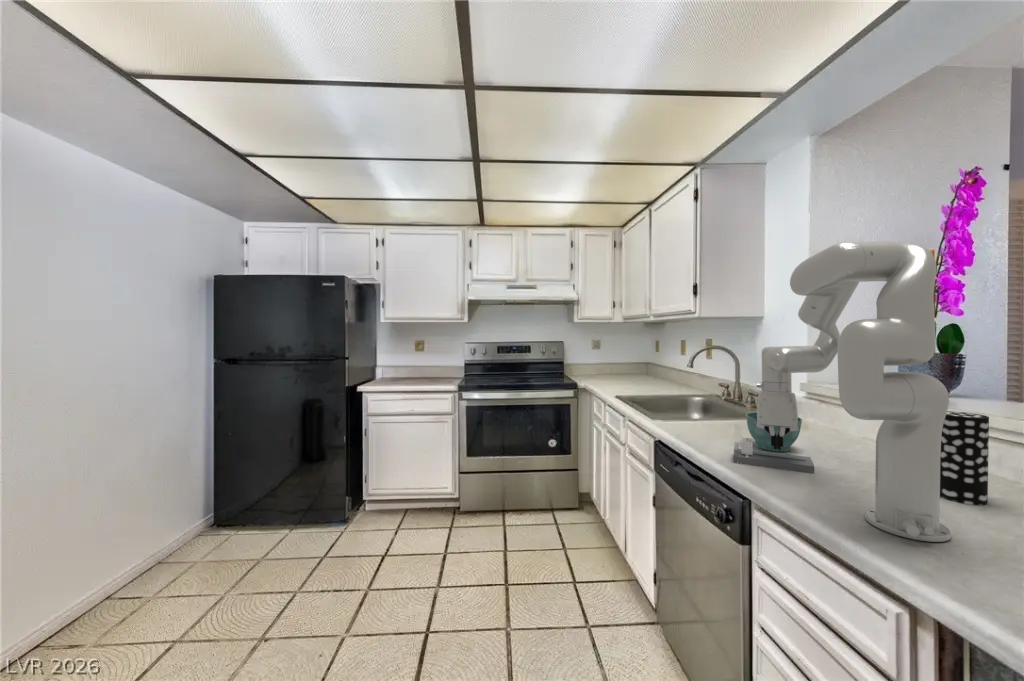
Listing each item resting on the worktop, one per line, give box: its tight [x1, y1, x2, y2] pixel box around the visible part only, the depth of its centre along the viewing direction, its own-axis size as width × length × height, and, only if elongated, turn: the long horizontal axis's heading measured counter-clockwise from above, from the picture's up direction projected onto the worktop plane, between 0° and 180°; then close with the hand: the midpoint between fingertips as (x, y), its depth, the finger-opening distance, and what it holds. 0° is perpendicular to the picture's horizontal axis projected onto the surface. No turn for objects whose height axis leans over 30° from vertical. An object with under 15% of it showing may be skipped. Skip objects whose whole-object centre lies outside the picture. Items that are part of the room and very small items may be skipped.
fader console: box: [733, 442, 815, 474], centre depth 126 cm, size 10×20×4 cm, turn 60°
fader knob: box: [740, 437, 754, 455], centre depth 129 cm, size 5×3×4 cm, turn 150°
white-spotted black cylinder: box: [940, 410, 990, 506], centre depth 99 cm, size 8×8×20 cm
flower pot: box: [745, 411, 803, 453], centre depth 141 cm, size 16×16×11 cm
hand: (777, 448), depth 124 cm, fingers closed
